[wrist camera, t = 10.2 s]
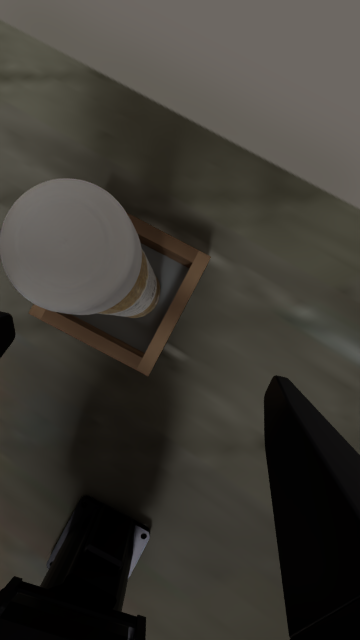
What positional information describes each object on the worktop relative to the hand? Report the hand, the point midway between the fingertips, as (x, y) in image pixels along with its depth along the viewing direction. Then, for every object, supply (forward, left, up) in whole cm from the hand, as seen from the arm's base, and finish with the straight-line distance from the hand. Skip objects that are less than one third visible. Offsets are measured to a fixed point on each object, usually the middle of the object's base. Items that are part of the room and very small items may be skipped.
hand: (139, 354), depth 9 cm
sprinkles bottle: (+2, +4, -13) cm, 14 cm away
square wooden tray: (+2, +4, -13) cm, 14 cm away
